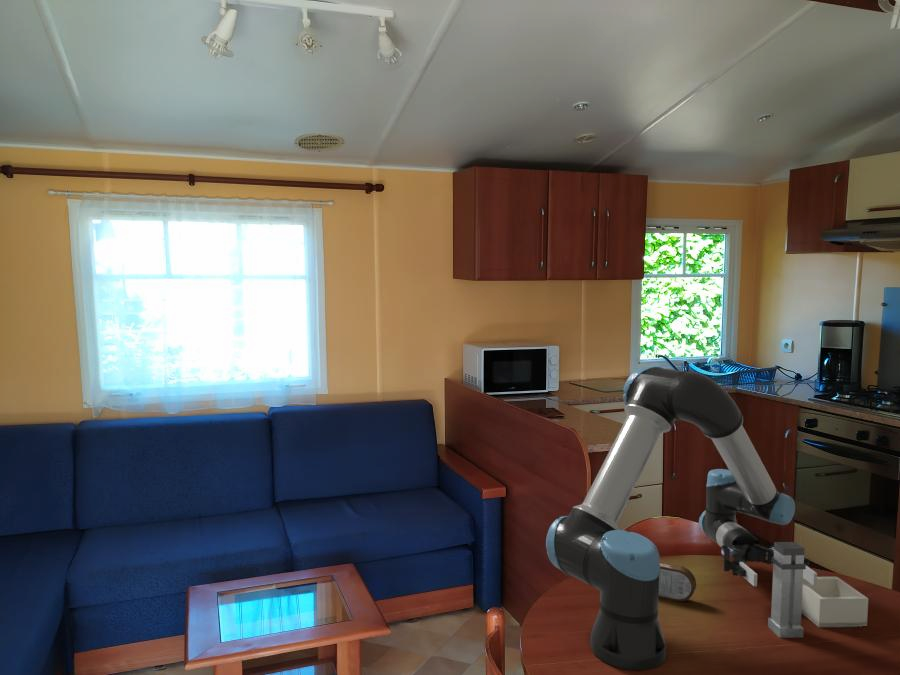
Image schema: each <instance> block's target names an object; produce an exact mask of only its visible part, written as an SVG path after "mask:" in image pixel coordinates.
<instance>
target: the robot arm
mask: <svg viewBox="0 0 900 675" xmlns="http://www.w3.org/2000/svg"><path fill="white" fill-rule="evenodd" d="M623 392H624V394H623V395H622V398H623V403H624V405H625V406H624V407H623V408H624V412H625V415H626V418H625V420H624V422H623V424H622V426H621V428H620V430H619V431H618V433H617V435H616V438H615V439H614V441H613V444H612V445H611V447H610V449H609V451H608V453H607V455H606V457H605V459H604V461H603V463H602V465H601V467H600V469H599V471H598V472H597V474H596V476H595V478H594V481H593V482H592V485H591V486H590V488H589V490H588V492H587V494H586V496H585V497H584V500H583V502H582V503H581V504H578V505H575V506H573V507H572V508H571V510H570V512H569V513H568V515H563V516H559V518H556V519H555V520H554V521H553V522H552V523H551V525H550V526H549V529H548V530H547V534H546V538H545V539H546V540H545V549H546V553H547V558H548V559H549V561H550V563H551V564H552V565H553V566H554V567H555V568H556V569H559V570H560V571H561V572H563V573H564V574H565V575H567V576H571V577H573V578H575V579H576V580H579V581H581V582H583V583H584V584H587V585H588V586H591V587H592V588H594V589H596V590H598V591H599V609H598V613H597V616H596V618H595V620H594V624H593V626H592V629H591V631H590V638H589V639H590V642H589V643H590V649H591V651H592V653H593V654H594V655H595V656H596V657H597V658H598V659H600V660H601V661H603V662H604V663H606V664H608V665H611V666H612V667H616V668H620V669H623V670H629V671H646V670H647V671H648V670H653V669H655V668H658V667H659V666H661V665H662V664H663V663H664V662H665V660H666V659H667V658H666V657H667V643H666V640H665V637H664V634H663V630H662V627H661V623H660V620H659V598H660V597H659V576H660V563H659V561H660V552H659V550H658V547H657V546H656V545H655V543H654V542H653V541H652V540H650V539H649V538H648V537H646V536H644V535H643V534H640V533H637V532H633V531H629V532H628V531H627V530H625V529H619V527H618V522H619V520H620V518H621V515H622V513H623V512H624V510H625V508H626V505H627V504H628V501H629V499H630V497H631V495H632V493H633V491H634V489H635V487H636V485H637V483H638V481H639V479H640V477H641V475H642V473H643V471H644V468H645V466H646V465H647V463H648V461H649V459H650V457H651V455H652V452H653V450H654V449H655V447H656V444H657V442H658V440H659V438H660V436H661V435H662V434H664V433H665V434H666V433H668V432H670V431H671V429H672V427H673V426H674V423H675V421H681V422H688V423H690V424H693V425H695V426H696V427H698V428H699V429H700V431H701V432H702V434H703V435H704V437H706V438H709V439H710V440H712V442H713V445H714V446H715V448H716V450H717V451H718V453H719V455H720V456H721V458H722V460H723V462H724V463H725V465H726V467H727V469H725V468H716V469H715V468H714V469H711V470H709V471H708V473H707V479H706V481H707V482H706V485H705V486H706V494H705V496H706V500H705V502H706V503H705V504H706V505H705V510H704V511H703V512H702V513H701V515H700V516H699V519H698V525H699V528H700V529H701V531H702V532H703V533H704V534H705V536H706V537H707V538H708V539H710V540H711V541H713V542H714V543H716V544H717V545H718V546H719V547H720V548H721V550H720V551H721V558H723V571H724V572H730V571H732V572H731V573H732V576H739V577H742V578H744V579H745V580H746V581H747V583H749V584H750V585H752V586H753V587H758V573H756V572H755V571H754V570H753V569H752V568H750V567H749V566H748V565H747V563H749V562H753V563H754V562H755V563H763V564H766V565H771V564H773V562H771V559H772V557H774V544H771V545H770V548H769V547H766V546H763V545H762V544H760V541H759V540H758V539H757V537H756V536H754V535H753V534H752V533H751V532H750V531H748V530H747V529H746V528H744V527H743V526H741V525H740V524H738V523H737V522H736V520H737V519H736V515H737V513H741V514H744V515H747V516H750V517H754V518H757V519H760V520H763V521H766V522H769V523H770V524H772V523H773V524H777V525H781V526H786V525H788V524H789V523H791V522H792V519H793V517H794V516H795V513H796V504H795V500H794V499H793V497H792V496H790V495H787V494H785V493H783V492H779V491H778V489H777V488H776V486H775V483H774V482H773V480H772V479H771V476H770V474H769V473H768V471H767V469H766V467H765V465H764V464H763V462H762V459H761V457H760V456H759V454H758V452H757V450H756V449H755V446H754V444H753V443H752V441H751V439H750V436H748V433H747V431H746V430H745V428H744V426H743V423H744V416H743V413H742V412H741V410H740V408H739V406H738V405H737V403H736V402H735V400H734V399H733V398H732V397H731V395H730V394H729V393H728V392H727V391H726V390H725V389H724V387H723V388H722V386H721V385H720V384H718V383H717V382H716V380H713V379H712V378H710V377H709V376H707V375H705V374H703V373H701V372H696V371H687V370H678V369H670V368H663V367H662V366H645V367H644V366H643V367H640V368H637V369H636V370H634V371H633V372H632V373H631V374H630V375H629V377H628V378H627V379H626V380H625V383H624V386H623ZM731 557H732V558H733V560H732V561H730V559H731ZM804 564H805V565H806V569H803V578H804V579H806V580H807V581H808V582H810V583H811V584H812V585H817V577H818V572H816V571H814V570H813V568H812V567H810V559H809V558H807V557H804Z"/></svg>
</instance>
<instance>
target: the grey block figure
mask: <svg viewBox="0 0 900 675" xmlns="http://www.w3.org/2000/svg"><path fill="white" fill-rule="evenodd" d="M773 545H774V557H772V559H771V562H773V563H772V564H773V565H772V566H773V567H772V584H771V585H772V586H771V589H772V590H771V611H770V617H767V627H768V628H769V629H770V630H771V631H772V632H773V633H774V634H775V635H776V636H777V637H778V638H779V639H782V638H783V639H787V638H788V639H790V638H791V639H792V638H804V632H805V631H804V627H803V626H802V625H801V624H802V613H801V610H802V589H803V569H806V565H805V564H804V558H805V548H804V547H803V546H802V545H800V544H799V543H797V542H796V541H774V543H773Z"/></svg>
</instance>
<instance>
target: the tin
mask: <svg viewBox="0 0 900 675" xmlns="http://www.w3.org/2000/svg"><path fill="white" fill-rule="evenodd" d="M659 563H660V576H659V598H661V597H662V599H665V598H666V599H667V600H670V601H675V602H685V601H688V600H689V599H690V598H692V597H693V595H694V593H695V590H696V588H697V580H696V578H695V575H694V574H693V573H692V571H691V570H690V569H689V568H687V567H685V566H683V565H680V564H676V563H670V562H667V561H666V562H665V561H661V560H659Z"/></svg>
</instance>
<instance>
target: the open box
mask: <svg viewBox="0 0 900 675" xmlns="http://www.w3.org/2000/svg"><path fill="white" fill-rule="evenodd" d="M868 611H869V597H867V596H865V595H864V594H862V592H860V591H858V590H857V589H856V588H854V587H853V586H851V585H850V584H848V583H847V582H846V581H844V580H842V579H841V578H840V577H838V576H817V585H812V584H811V583H810V582H808V581H807V580H806V579H804V578H803V589H802V610H801V615H803V616H805V617H806V618H807V619H808V620H809V621H811V622H812V623H813V624H814V625H815V626H816V627H817V628H855V627H856V628H858V626H859V627H860V628H861V627H862V626H868V614H869V613H868Z"/></svg>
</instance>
